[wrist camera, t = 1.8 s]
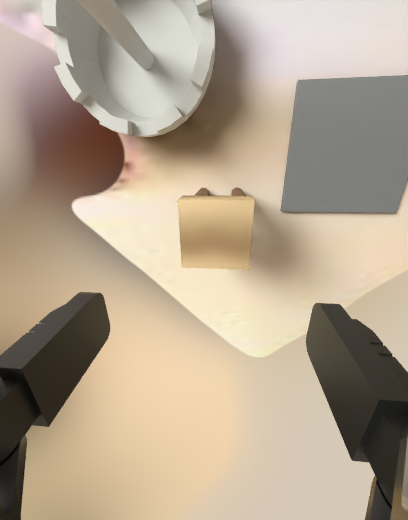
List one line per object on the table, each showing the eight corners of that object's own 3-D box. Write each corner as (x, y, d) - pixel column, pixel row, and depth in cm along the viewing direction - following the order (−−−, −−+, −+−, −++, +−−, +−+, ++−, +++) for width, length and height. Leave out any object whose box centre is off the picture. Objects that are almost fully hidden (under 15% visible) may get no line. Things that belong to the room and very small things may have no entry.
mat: (297, 82, 21) (298, 79, 21) (437, 76, 20) (442, 73, 20) (280, 210, 26) (281, 211, 26) (392, 211, 25) (396, 212, 24)
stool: (195, 185, 26) (177, 199, 17) (245, 185, 25) (254, 199, 16) (196, 232, 28) (181, 267, 19) (242, 233, 28) (249, 269, 19)
